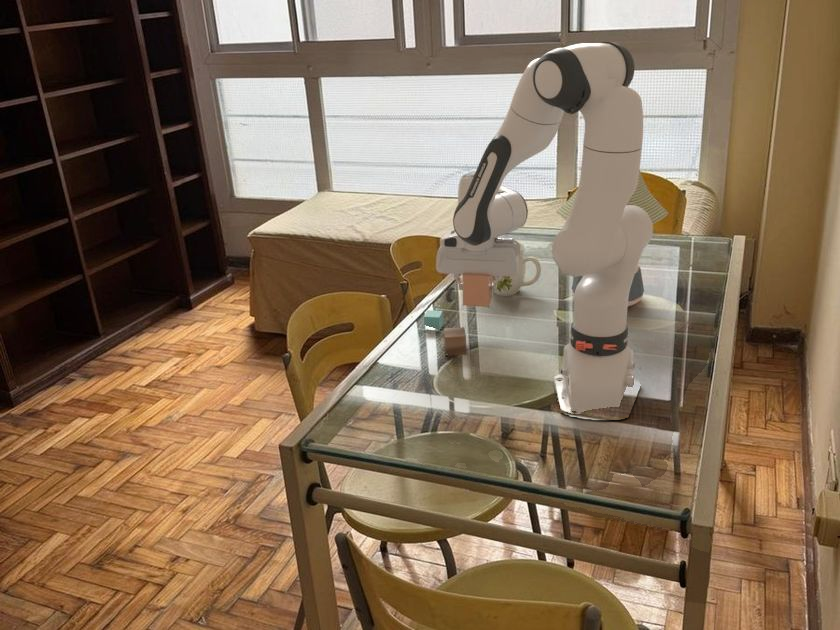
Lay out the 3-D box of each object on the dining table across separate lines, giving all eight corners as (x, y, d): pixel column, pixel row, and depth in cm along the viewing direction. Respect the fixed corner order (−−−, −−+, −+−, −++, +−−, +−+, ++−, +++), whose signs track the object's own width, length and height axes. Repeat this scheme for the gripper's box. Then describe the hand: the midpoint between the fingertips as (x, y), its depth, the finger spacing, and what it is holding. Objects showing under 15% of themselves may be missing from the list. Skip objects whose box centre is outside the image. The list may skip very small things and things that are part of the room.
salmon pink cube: (488, 306, 197) (488, 276, 193) (462, 305, 198) (462, 275, 195) (492, 296, 202) (492, 266, 199) (467, 295, 204) (467, 265, 200)
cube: (439, 331, 205) (439, 317, 203) (424, 330, 206) (423, 316, 204) (443, 325, 208) (442, 311, 207) (428, 324, 209) (427, 310, 208)
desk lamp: (664, 322, 203) (678, 160, 186) (551, 318, 209) (554, 160, 192) (658, 283, 226) (669, 136, 209) (556, 281, 232) (559, 137, 215)
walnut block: (466, 354, 192) (465, 336, 190) (445, 356, 192) (444, 337, 190) (464, 345, 197) (464, 327, 195) (444, 346, 197) (443, 328, 195)
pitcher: (534, 302, 218) (535, 255, 213) (472, 295, 225) (471, 249, 220) (545, 287, 228) (546, 241, 222) (485, 281, 234) (484, 236, 229)
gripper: (521, 234, 194) (521, 287, 199) (438, 231, 198) (440, 283, 204) (518, 243, 188) (518, 297, 194) (433, 240, 193) (435, 292, 198)
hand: (477, 290), depth 199 cm, fingers closed on salmon pink cube, 6 cm apart
